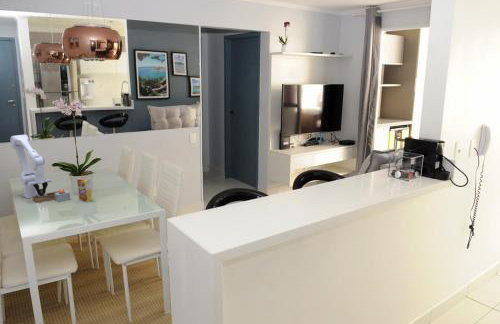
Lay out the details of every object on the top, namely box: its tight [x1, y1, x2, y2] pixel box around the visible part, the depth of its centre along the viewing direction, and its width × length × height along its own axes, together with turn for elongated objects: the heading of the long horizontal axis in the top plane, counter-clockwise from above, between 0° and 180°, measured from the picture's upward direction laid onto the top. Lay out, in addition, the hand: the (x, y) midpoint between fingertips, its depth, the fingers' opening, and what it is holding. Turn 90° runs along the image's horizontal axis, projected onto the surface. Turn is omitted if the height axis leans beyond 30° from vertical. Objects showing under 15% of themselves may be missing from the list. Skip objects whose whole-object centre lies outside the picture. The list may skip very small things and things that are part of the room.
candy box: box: [76, 177, 93, 203], centre depth 269 cm, size 9×4×15 cm, turn 61°
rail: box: [32, 190, 59, 204], centre depth 273 cm, size 8×19×3 cm, turn 135°
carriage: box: [36, 188, 48, 198], centre depth 268 cm, size 5×6×6 cm
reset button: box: [58, 188, 65, 194], centre depth 270 cm, size 3×3×4 cm
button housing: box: [54, 190, 71, 203], centre depth 270 cm, size 6×8×5 cm
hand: (41, 193), depth 268 cm, fingers closed on carriage, 3 cm apart
